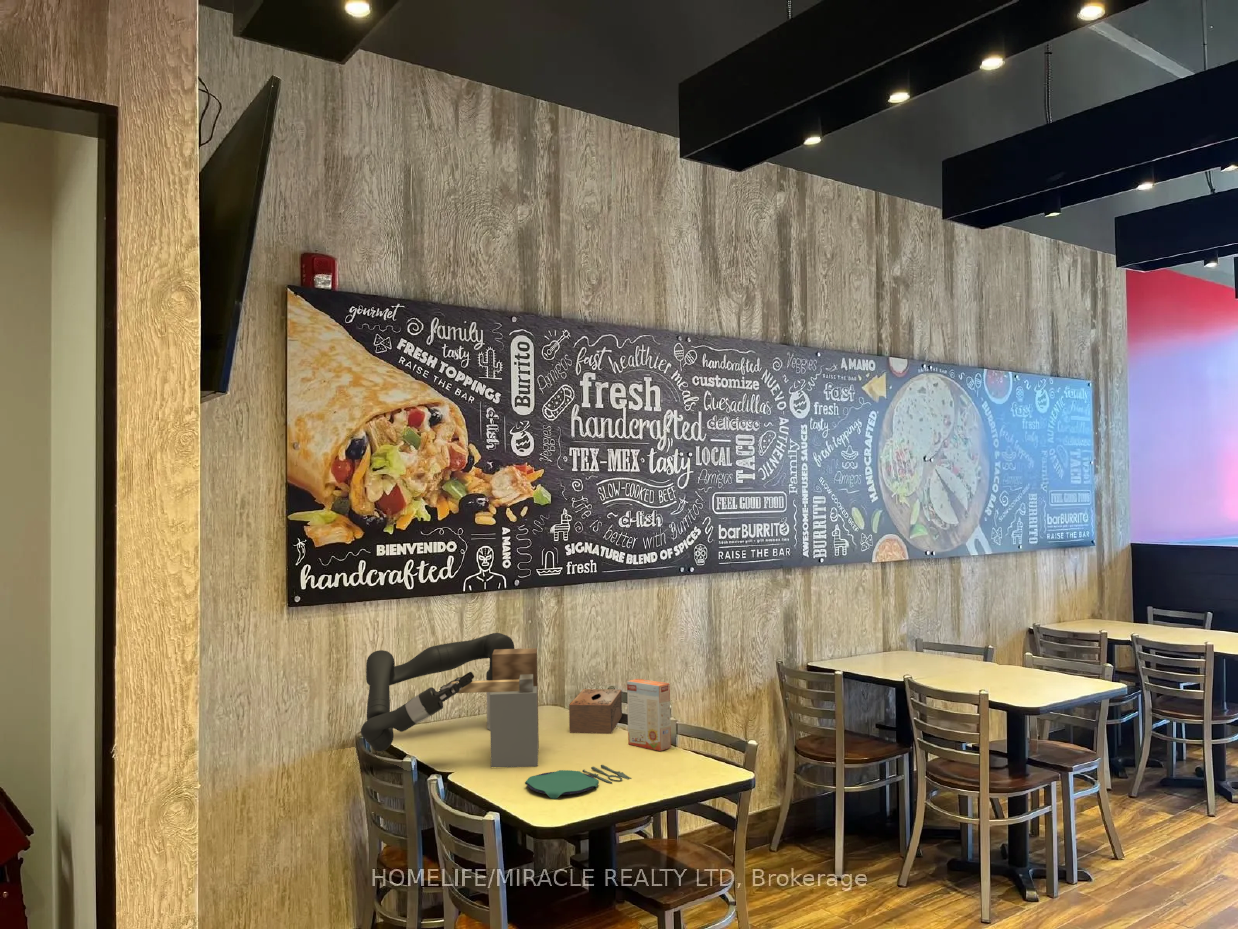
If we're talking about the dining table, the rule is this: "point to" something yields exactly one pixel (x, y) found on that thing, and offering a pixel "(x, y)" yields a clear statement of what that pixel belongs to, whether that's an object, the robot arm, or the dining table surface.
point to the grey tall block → (514, 729)
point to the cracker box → (649, 714)
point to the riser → (515, 665)
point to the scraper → (500, 685)
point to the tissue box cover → (595, 711)
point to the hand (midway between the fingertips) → (471, 676)
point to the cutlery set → (569, 781)
